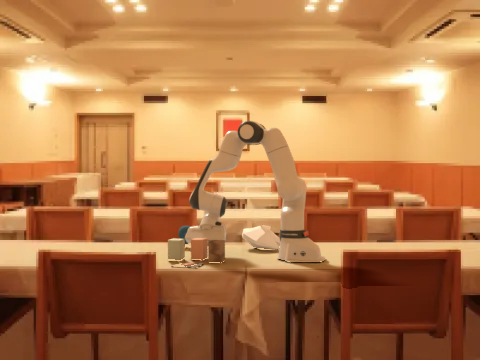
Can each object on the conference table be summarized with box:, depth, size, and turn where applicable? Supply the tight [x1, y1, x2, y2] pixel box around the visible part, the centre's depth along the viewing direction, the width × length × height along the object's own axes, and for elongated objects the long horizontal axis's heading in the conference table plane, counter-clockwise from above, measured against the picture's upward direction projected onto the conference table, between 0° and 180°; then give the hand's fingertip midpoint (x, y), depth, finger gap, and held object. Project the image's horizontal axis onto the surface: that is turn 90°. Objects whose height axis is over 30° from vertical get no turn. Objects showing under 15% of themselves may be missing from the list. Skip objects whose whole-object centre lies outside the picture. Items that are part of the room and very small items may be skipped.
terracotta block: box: [190, 238, 208, 260], centre depth 257 cm, size 6×6×10 cm
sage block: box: [167, 237, 186, 260], centre depth 256 cm, size 6×6×10 cm
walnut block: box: [207, 240, 226, 263], centre depth 250 cm, size 6×6×10 cm
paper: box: [241, 224, 280, 249], centre depth 289 cm, size 25×24×12 cm
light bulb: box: [177, 225, 191, 245], centre depth 294 cm, size 8×8×12 cm
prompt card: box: [181, 262, 205, 267], centre depth 242 cm, size 12×9×1 cm
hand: (202, 249), depth 260 cm, fingers closed, pressing on terracotta block
